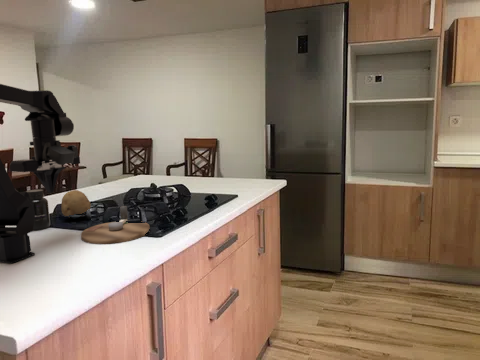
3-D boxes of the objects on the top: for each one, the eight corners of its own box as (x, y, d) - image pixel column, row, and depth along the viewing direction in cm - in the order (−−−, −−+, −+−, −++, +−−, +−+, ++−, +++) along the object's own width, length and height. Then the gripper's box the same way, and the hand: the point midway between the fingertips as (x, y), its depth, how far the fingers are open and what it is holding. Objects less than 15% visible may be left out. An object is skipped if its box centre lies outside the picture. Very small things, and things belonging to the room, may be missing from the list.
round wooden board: (121, 246, 98) (120, 241, 98) (66, 240, 105) (65, 235, 105) (162, 226, 116) (162, 222, 115) (112, 222, 123) (112, 218, 123)
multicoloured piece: (120, 230, 108) (118, 213, 107) (106, 230, 108) (105, 214, 108) (132, 220, 118) (130, 205, 118) (119, 221, 118) (118, 206, 118)
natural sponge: (95, 215, 133) (93, 187, 132) (85, 222, 125) (82, 192, 123) (70, 216, 134) (67, 188, 132) (58, 223, 125) (54, 193, 123)
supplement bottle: (40, 231, 116) (35, 192, 114) (21, 230, 117) (16, 192, 115) (55, 225, 122) (51, 188, 120) (37, 224, 124) (32, 188, 122)
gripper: (36, 139, 93) (43, 201, 95) (91, 135, 110) (97, 187, 112) (4, 139, 97) (12, 199, 100) (63, 135, 114) (68, 186, 117)
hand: (50, 192), depth 107 cm, fingers closed
